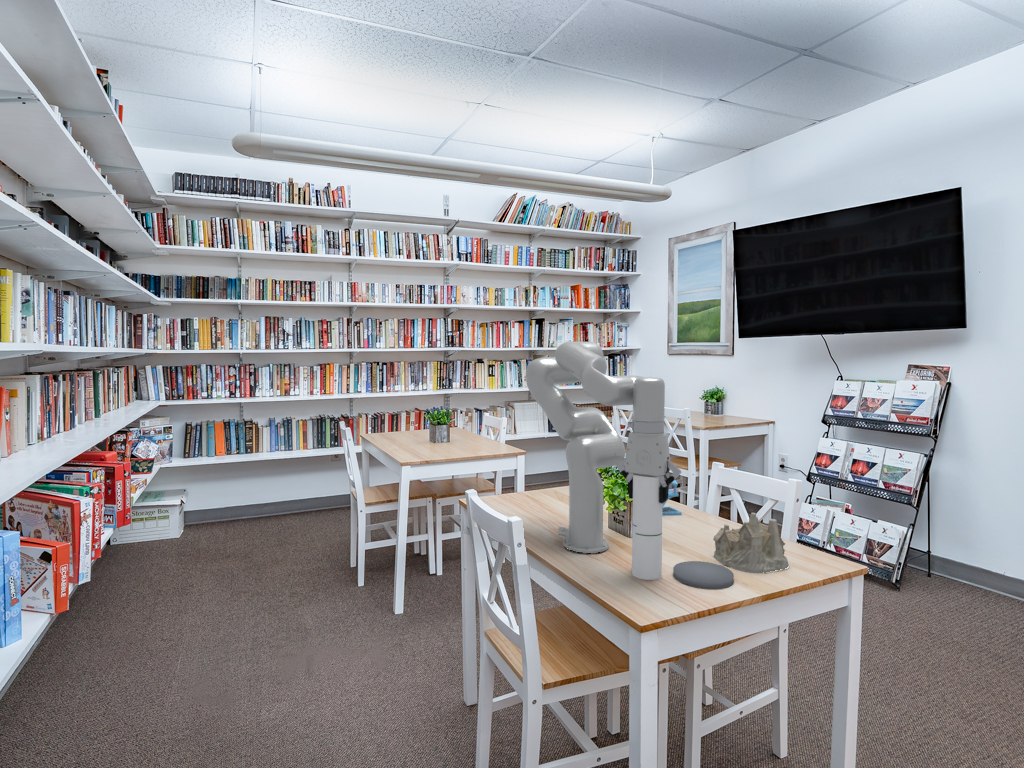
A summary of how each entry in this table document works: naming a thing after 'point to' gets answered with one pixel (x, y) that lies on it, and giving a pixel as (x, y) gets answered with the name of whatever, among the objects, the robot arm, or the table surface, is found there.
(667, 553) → the table surface
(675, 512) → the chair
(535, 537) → the table surface
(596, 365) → the robot arm
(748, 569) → the ceramic cottage
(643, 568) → the cylindrical container
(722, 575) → the coaster
